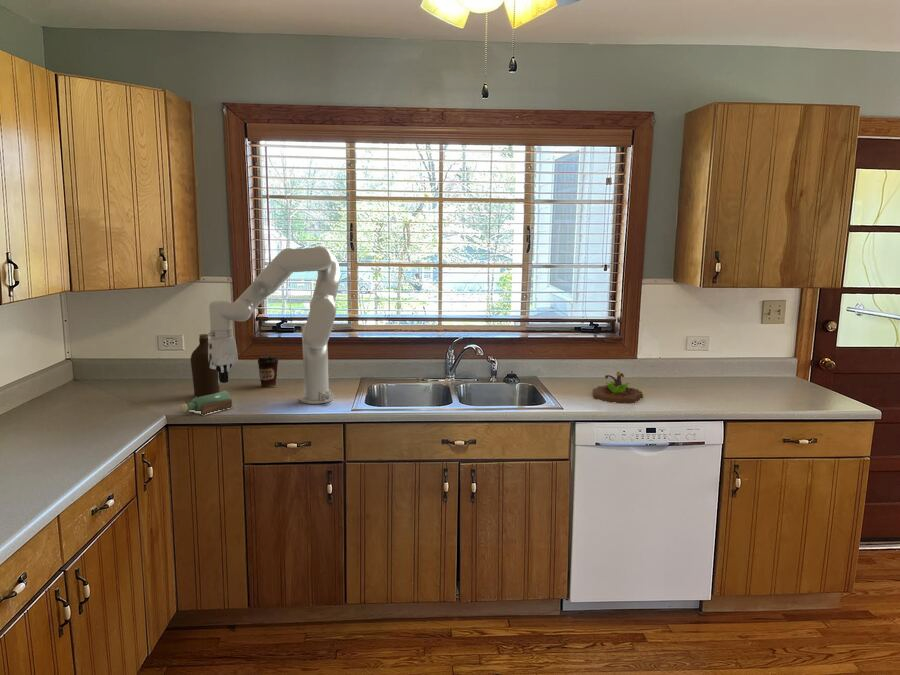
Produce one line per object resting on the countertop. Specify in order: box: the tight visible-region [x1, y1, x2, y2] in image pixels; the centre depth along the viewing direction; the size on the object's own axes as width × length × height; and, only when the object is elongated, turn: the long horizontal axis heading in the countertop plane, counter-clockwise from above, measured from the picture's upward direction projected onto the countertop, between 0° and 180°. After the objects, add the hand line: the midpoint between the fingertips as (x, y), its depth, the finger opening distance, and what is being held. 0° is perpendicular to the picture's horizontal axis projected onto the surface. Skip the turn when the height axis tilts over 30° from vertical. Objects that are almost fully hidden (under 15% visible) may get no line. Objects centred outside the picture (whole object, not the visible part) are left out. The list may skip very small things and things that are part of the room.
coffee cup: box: [257, 354, 279, 388], centre depth 272 cm, size 9×8×13 cm
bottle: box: [180, 390, 231, 413], centre depth 236 cm, size 5×5×18 cm
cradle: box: [184, 398, 233, 415], centre depth 238 cm, size 11×12×4 cm
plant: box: [592, 371, 644, 404], centre depth 260 cm, size 20×20×11 cm
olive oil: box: [190, 333, 221, 397], centre depth 254 cm, size 11×11×25 cm
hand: (223, 382), depth 242 cm, fingers closed
